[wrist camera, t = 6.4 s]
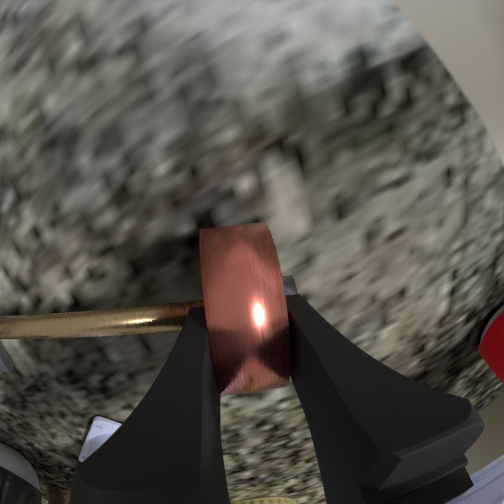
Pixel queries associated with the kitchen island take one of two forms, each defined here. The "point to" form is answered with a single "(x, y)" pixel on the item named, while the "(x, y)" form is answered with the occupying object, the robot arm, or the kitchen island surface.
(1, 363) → the gray bracket
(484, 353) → the beverage can
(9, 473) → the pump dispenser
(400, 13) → the kitchen island surface
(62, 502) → the rock
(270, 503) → the potted cactus
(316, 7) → the kitchen island surface
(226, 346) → the copper knob on rod
